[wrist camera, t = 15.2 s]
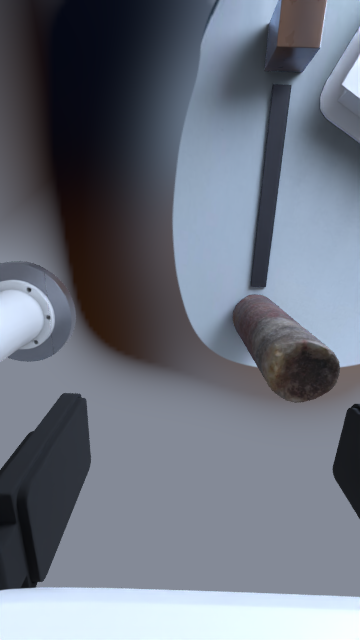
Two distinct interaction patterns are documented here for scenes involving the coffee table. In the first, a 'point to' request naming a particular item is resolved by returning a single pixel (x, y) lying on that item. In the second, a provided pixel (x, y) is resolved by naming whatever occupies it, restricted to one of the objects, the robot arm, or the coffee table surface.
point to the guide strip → (270, 182)
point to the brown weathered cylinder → (285, 350)
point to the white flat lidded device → (344, 91)
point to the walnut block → (294, 34)
